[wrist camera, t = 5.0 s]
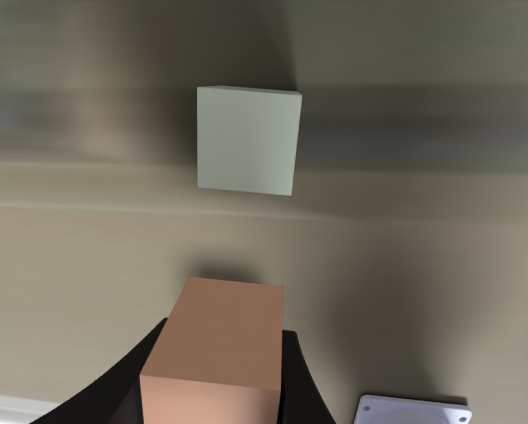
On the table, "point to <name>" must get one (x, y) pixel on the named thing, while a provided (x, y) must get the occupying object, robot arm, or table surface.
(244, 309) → the terracotta block
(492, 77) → the table surface
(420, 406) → the robot arm
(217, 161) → the sage block
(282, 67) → the table surface
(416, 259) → the table surface
